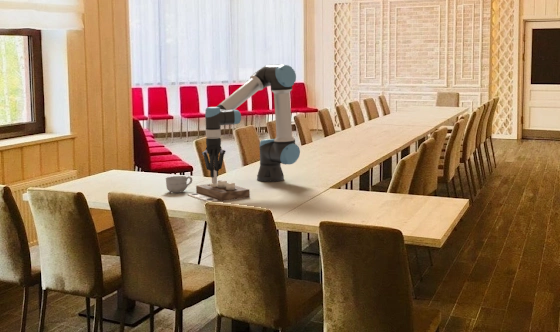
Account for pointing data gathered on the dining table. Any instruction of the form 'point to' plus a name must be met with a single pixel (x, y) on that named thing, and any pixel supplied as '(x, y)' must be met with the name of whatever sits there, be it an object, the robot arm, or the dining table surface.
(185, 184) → the teacup
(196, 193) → the card
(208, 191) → the board
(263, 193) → the dining table surface
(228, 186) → the button
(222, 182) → the button
